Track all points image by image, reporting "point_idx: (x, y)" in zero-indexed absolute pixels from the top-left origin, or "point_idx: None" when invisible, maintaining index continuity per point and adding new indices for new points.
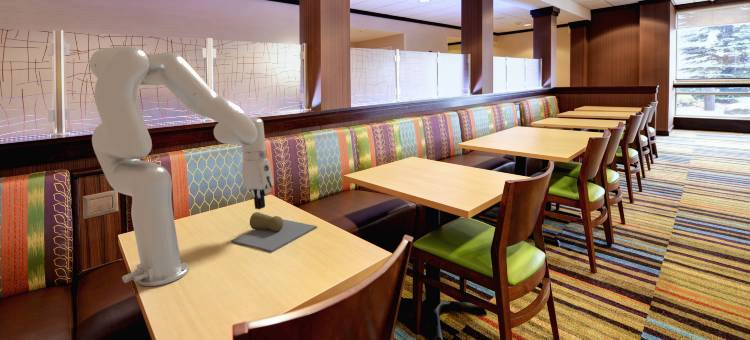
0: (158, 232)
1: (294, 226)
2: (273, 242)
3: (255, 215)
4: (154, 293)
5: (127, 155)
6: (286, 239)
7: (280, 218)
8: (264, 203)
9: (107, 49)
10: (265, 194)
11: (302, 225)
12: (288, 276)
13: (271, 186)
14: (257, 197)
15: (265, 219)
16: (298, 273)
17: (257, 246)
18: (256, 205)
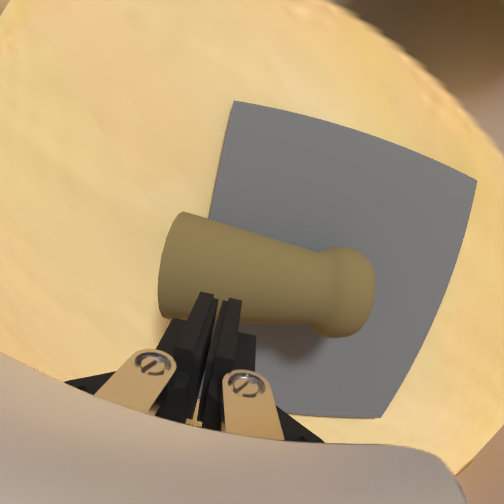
0: None
1: (391, 202)
2: (365, 378)
3: (187, 310)
4: None
5: None
6: (405, 344)
7: (374, 295)
8: (255, 342)
9: None
10: (288, 416)
11: (421, 181)
12: (437, 453)
13: (402, 456)
14: (186, 400)
15: (278, 322)
16: (453, 441)
17: (320, 414)
18: (203, 375)
